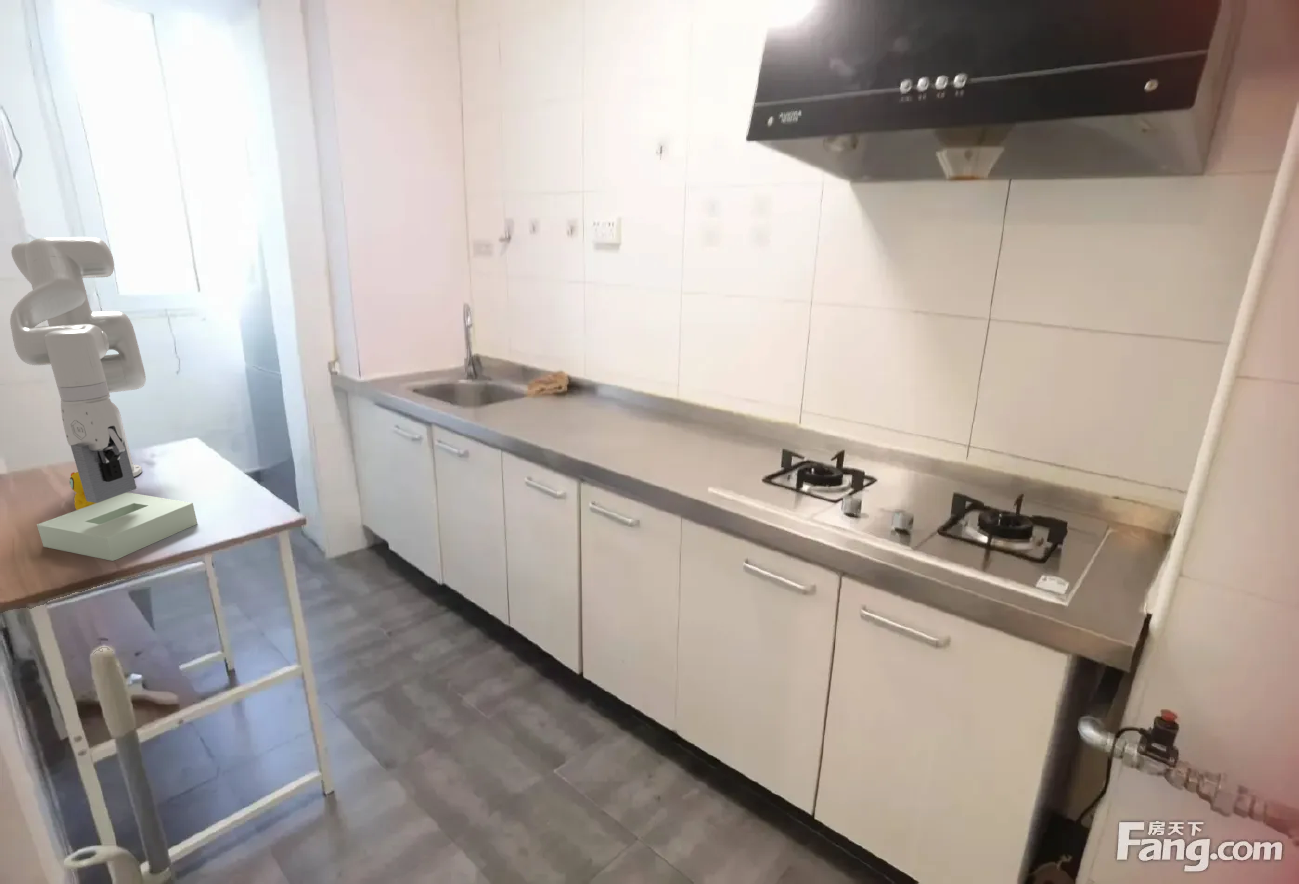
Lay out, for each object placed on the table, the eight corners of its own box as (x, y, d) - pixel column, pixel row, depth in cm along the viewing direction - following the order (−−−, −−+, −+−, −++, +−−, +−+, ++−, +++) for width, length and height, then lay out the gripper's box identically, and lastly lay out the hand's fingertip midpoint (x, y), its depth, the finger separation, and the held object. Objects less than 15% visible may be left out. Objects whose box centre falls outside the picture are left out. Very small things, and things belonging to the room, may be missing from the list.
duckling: (68, 511, 153) (56, 471, 149) (96, 503, 157) (84, 464, 154) (90, 522, 147) (78, 480, 144) (118, 514, 151) (107, 473, 148)
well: (43, 546, 136) (36, 524, 134) (132, 512, 152) (126, 492, 151) (113, 560, 130) (106, 538, 129) (197, 523, 146) (192, 503, 145)
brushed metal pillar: (86, 501, 135) (70, 445, 131) (126, 487, 142) (112, 434, 138) (97, 502, 134) (81, 447, 130) (136, 488, 141) (122, 435, 138)
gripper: (34, 393, 130) (60, 480, 136) (93, 399, 126) (117, 489, 131) (76, 385, 137) (99, 468, 143) (133, 391, 132) (154, 476, 138)
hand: (107, 477), depth 137 cm, fingers closed on brushed metal pillar, 3 cm apart
